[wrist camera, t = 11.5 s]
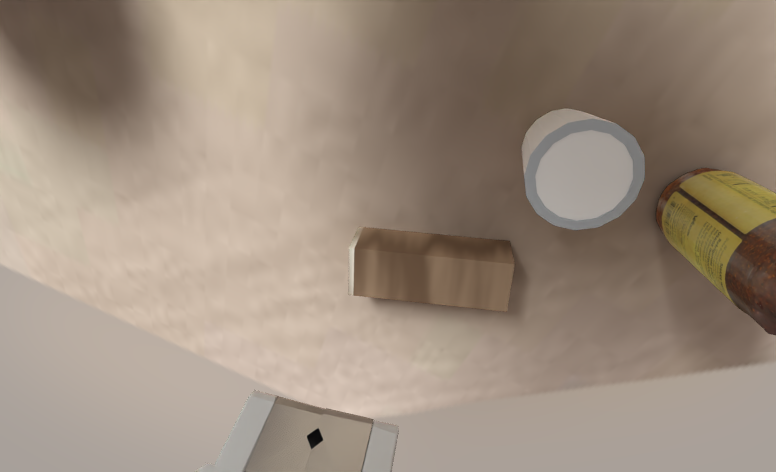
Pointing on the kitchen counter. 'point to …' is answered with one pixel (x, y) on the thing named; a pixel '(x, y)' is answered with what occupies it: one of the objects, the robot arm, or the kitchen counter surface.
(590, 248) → the kitchen counter surface
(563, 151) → the white tapered cylinder
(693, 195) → the sauce bottle
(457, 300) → the walnut block
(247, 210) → the kitchen counter surface
